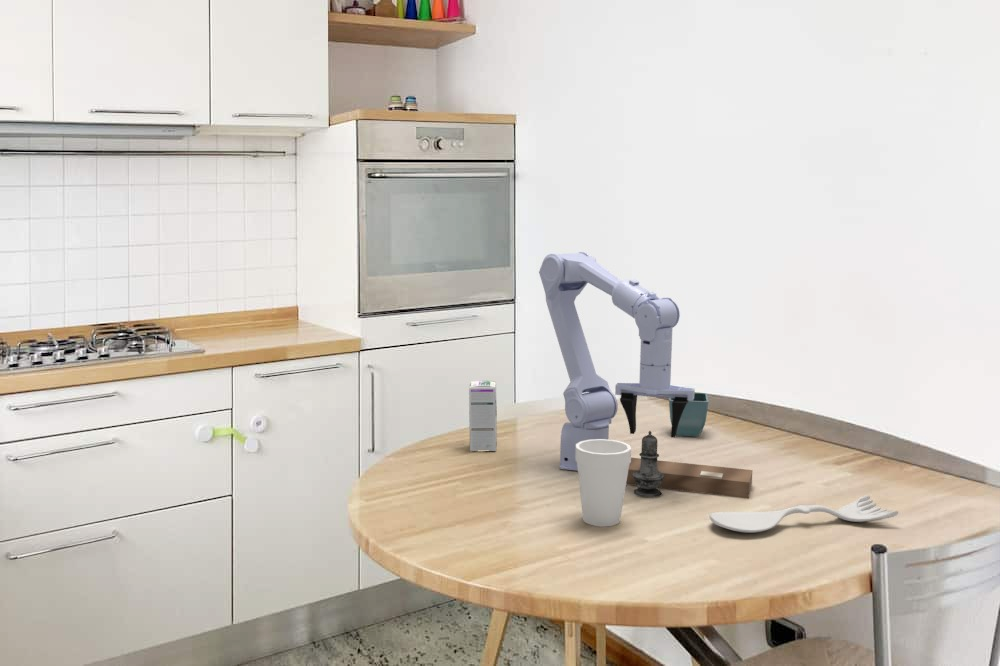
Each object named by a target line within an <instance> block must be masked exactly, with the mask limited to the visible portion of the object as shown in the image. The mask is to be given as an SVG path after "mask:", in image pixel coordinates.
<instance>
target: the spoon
mask: <svg viewBox="0 0 1000 666" xmlns="http://www.w3.org/2000/svg"><path fill="white" fill-rule="evenodd" d="M870 498H871V496H870V495H869V494H865V495H863V496H861V497H859V498H857V499H856V500H854V501H851V502H850V503H847V504H845V505H843V506H841V507H840V508H839V509H838V510H836V509H833V508H831V507H828V506H826V505H822V504H821V505H820V504H815V505H814V504H813V505H805V504H804V505H803V504H802V505H801V504H798V505H796V506H792V507H789V508H783V509H778V510H773V511H717V512H711V513H710V514H709V520H710V521H711V522H712V523H713V524H714V525H716V526H718V527H721V528H724V529H727V530H730V531H733V532H738V533H746V534H747V533H748V534H751V533H762V532H764V531H768V530H771V529H773V528H774V527H776V526H777V525H778V524H779V523H780V522H781V521H782V520H783V519H784V518H785V517H787V516H790V515H792V514H805V515H806V514H811V513H816V512H821V513H827V514H830V515H832V516H834V517H837V518H839V519H841V520H844V521H848V522H856V523H857V522H858V523H859V522H860V523H861V522H862V523H863V522H868V521H877V520H883V519H884V520H885V519H889V518H894V517H896V516H898V514H899V510H893V511H892V510H888V509H887V508H884V509H881V506H876V505H877V503H876V502H874V503H873V501H874V500H873V499H870Z"/></svg>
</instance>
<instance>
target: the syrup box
mask: <svg viewBox="0 0 1000 666" xmlns="http://www.w3.org/2000/svg"><path fill="white" fill-rule="evenodd" d="M468 395H469V398H468V401H469V402H468V405H469V411H468V412H469V415H468V416H469V451H470V452H472V451H478V450H489V451H496V452H497V446H498V445H497V443H498V442H497V441H498V437H497V436H498V435H497V434H498V433H497V431H498V430H497V429H498V428H497V426H498V425H497V423H498V422H497V421H498V419H497V417H498V415H497V408H498V407H497V382H496V381H494V380H474V381H472V380H471V381H470V384H469V387H468Z"/></svg>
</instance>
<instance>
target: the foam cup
mask: <svg viewBox="0 0 1000 666" xmlns="http://www.w3.org/2000/svg"><path fill="white" fill-rule="evenodd" d="M631 447H632V446H631V445H630V444H628V443H626V442H625V441H621V440H620V441H619V440H616V439H608V440H606V439H592V440H585V441H581V442H579V443H577V444H576V454H575V458H576V462H577V467H578V471H577V474H578V475H577V476H578V484H579V493H580V504H581V511H582V513H581V514H582V520H583V522H585V523H586V524H587V525H590V526H594V527H601V528H602V527H613V526H617V525H618V524H619V523H620V519H621V516H622V511H623V505H624V499H625V498H624V497H625V492H626V486H627V484H626V482H627V476H628V470H629V464H630V463H631V458H632V448H631Z"/></svg>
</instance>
